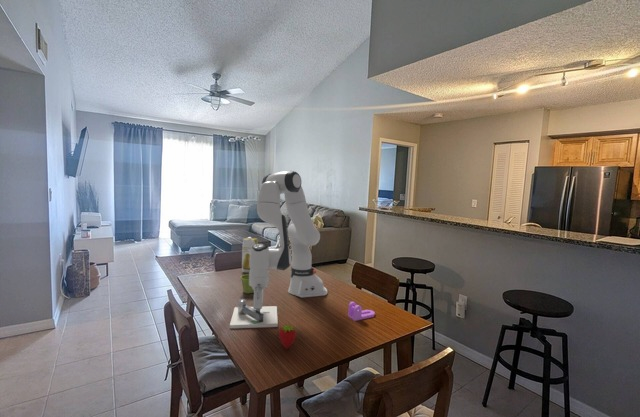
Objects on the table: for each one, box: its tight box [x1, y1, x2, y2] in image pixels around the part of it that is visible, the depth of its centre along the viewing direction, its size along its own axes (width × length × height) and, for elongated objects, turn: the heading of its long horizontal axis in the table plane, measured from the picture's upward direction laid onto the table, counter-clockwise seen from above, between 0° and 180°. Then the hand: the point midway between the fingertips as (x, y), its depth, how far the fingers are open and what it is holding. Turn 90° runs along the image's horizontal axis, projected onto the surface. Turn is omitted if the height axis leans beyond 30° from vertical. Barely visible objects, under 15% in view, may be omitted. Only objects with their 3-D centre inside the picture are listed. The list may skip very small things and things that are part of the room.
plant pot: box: [240, 273, 254, 294], centre depth 168 cm, size 9×9×9 cm
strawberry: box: [278, 322, 297, 350], centre depth 113 cm, size 6×8×10 cm
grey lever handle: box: [237, 298, 263, 322], centre depth 132 cm, size 17×4×6 cm, turn 47°
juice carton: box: [241, 236, 259, 274], centre depth 203 cm, size 9×8×24 cm
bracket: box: [347, 301, 376, 322], centre depth 143 cm, size 13×6×7 cm, turn 118°
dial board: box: [229, 305, 279, 329], centre depth 136 cm, size 20×18×2 cm
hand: (258, 310), depth 136 cm, fingers open, 6 cm apart
